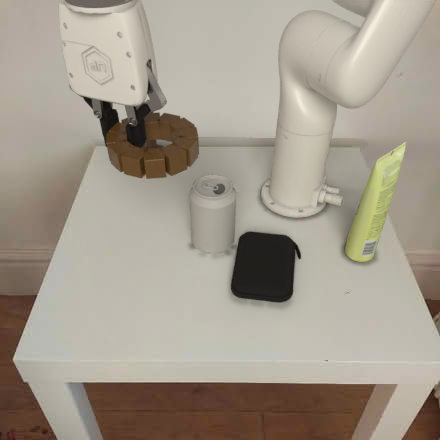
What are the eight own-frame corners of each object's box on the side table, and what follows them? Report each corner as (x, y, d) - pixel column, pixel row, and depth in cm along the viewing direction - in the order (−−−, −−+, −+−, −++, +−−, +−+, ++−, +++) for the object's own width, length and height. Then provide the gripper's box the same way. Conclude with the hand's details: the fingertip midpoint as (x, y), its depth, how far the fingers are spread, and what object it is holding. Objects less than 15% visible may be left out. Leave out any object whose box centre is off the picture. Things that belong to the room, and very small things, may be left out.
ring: (211, 140, 62) (211, 122, 60) (174, 187, 55) (173, 168, 53) (137, 123, 65) (134, 106, 63) (92, 166, 58) (88, 148, 56)
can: (230, 260, 76) (232, 202, 67) (186, 253, 77) (183, 195, 68) (237, 231, 81) (240, 174, 72) (197, 225, 82) (195, 168, 73)
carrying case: (297, 310, 69) (300, 245, 79) (300, 297, 67) (303, 232, 77) (228, 302, 70) (239, 239, 80) (229, 289, 68) (240, 225, 78)
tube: (342, 239, 80) (371, 138, 65) (371, 241, 80) (407, 140, 65) (345, 262, 76) (376, 160, 62) (375, 264, 76) (414, 162, 61)
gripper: (11, -13, 47) (58, 147, 61) (151, 7, 43) (168, 174, 57) (54, -32, 51) (89, 121, 65) (185, -15, 47) (192, 144, 61)
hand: (125, 144), depth 61 cm, fingers closed on ring, 3 cm apart
